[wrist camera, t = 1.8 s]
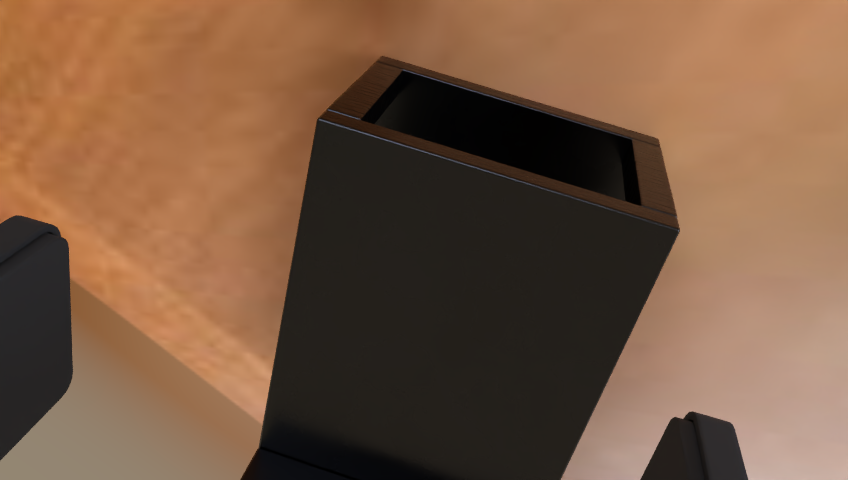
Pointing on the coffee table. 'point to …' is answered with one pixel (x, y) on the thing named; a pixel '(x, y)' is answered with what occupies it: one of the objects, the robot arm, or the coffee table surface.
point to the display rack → (458, 283)
